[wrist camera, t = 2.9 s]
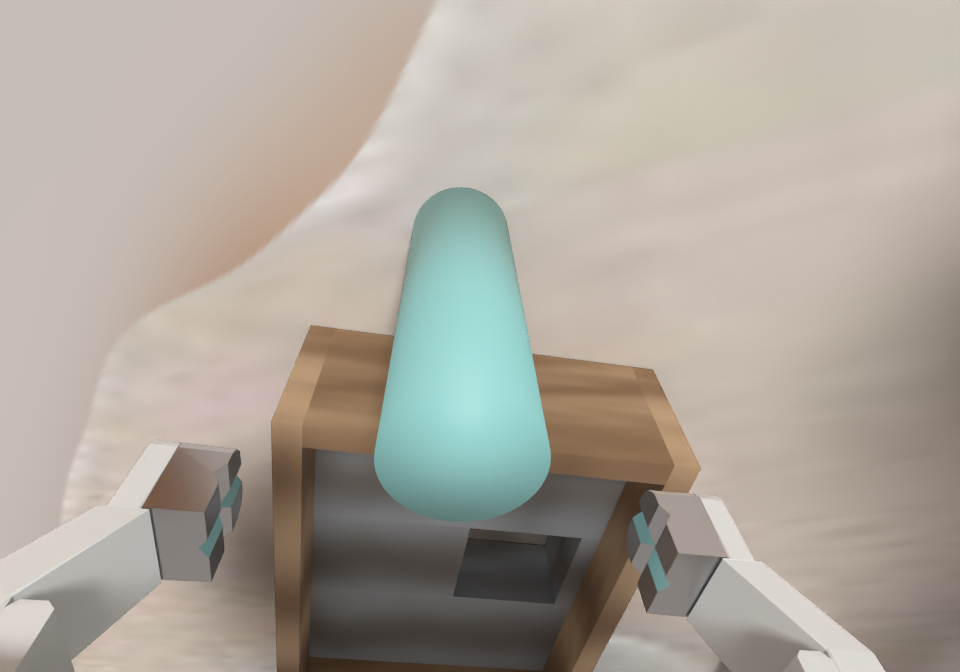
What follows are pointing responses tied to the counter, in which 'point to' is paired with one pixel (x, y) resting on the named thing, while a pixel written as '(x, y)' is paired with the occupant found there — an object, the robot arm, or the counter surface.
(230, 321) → the counter surface
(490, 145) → the counter surface
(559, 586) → the box
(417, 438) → the peg
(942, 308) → the counter surface
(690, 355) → the counter surface
